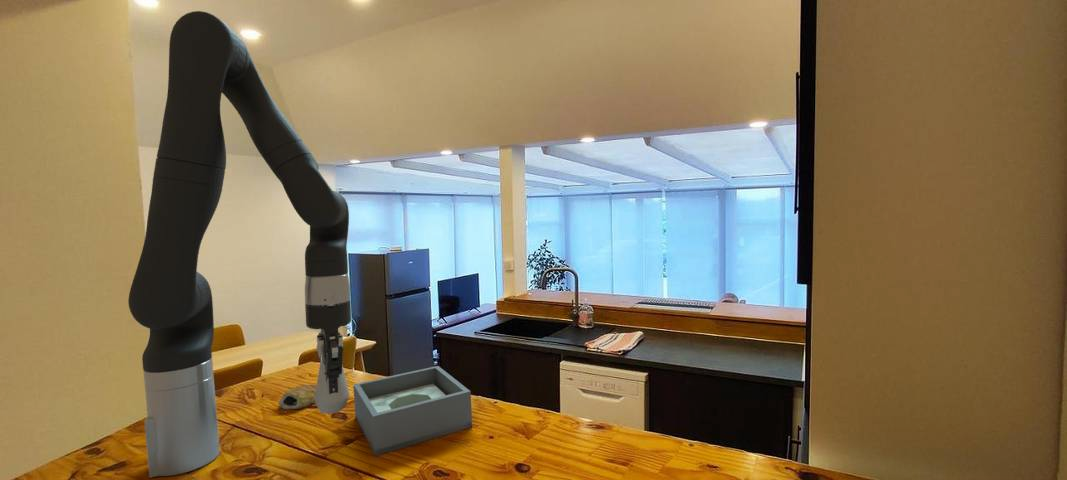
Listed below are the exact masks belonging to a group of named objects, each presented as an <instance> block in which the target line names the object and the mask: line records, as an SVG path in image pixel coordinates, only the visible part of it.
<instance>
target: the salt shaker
mask: <svg viewBox="0 0 1067 480" xmlns="http://www.w3.org/2000/svg"><path fill="white" fill-rule="evenodd" d="M342 348H343V349H344V344H343V345H342ZM316 352H317V353H318V355H319V354H321V348H320V347H319V343H317V345H316ZM324 354H325V346H324ZM325 358H326V357H325ZM318 368H319V369H318V375H317V381H316V393H315V402H314V403H315V404H316V406H317V408H318V410H319V412H320V413H321V414H328V415H330V414H335V413H339V412H340V411H342V410H344V409H345V408H346V405H347V403H348V400H349V398H350V391H349V390H350V389H349V387H348V382H347V377H346V375H345V369H344V366H343V364H342V374H340V375H339V377H338V393H332V394H330V395H329V379H328V378H327V381H326V377H325V375H324V372H325V366H324V364H323V363H322V362H321V361H320V360H319V367H318ZM332 368H337V365H335V366H331V367H330V369H332ZM332 381H334V380H332ZM333 385H334V384H333ZM333 391H335V390H334V388H333Z"/></svg>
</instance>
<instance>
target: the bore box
mask: <svg viewBox="0 0 1067 480" xmlns="http://www.w3.org/2000/svg"><path fill="white" fill-rule="evenodd" d="M352 385H353V400H354V401H353V402H354V416H355V420H356V422H357V424H358V426H359V427H360V429H361V431H362V433H363V435H364V437H365V438H366V441H367V443H368V445H369V447H370V449H371V451H372V453H373V454H374V457H378V456H382V455H384V454H387V453H388V454H389V453H390V452H395V451H397V450H401V449H404V448H408V447H411V446H415V445H417V444H420V443H421V444H422V443H424V442H428V441H430V440H434V439H437V438H440V437H444V436H446V435H450V434H453V433H457V432H461V431H464V430H466V429H470V428H473V417H472V416H473V414H472V395H471V393H472V392H471V390H470V389H469V388H467V387H466V386H464V385H463V384H462V383H461V382H460V381H458V380H457V379H456V378H454V377H453V376H452V375H451V374H449V373H448V372H447V371H446V370H444V369H443V368H441V366H439V365H436V366H430V367H426V368H422V369H417V370H412V371H408V372H403V373H399V374H395V375H389V376H385V377H380V378H376V379H371V380H367V381H362V382H357V383H353V384H352Z"/></svg>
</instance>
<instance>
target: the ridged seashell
mask: <svg viewBox="0 0 1067 480" xmlns="http://www.w3.org/2000/svg"><path fill="white" fill-rule="evenodd" d="M316 386H317V384H309V385H308V384H306V385H305V384H304V385H299V386H296V387H292V388H291V389H288V390H286V391H285V392H284V393H283V394H282V396H281V398H280V400H279V402H278V406H279V407H280V408H281V409H284V410H293V409H294V410H298V409H299V410H300V409H304V408H306V407H309V406H310V405H311V404H314V403H316V402H315V393H316Z"/></svg>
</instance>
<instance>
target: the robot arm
mask: <svg viewBox="0 0 1067 480" xmlns="http://www.w3.org/2000/svg"><path fill="white" fill-rule="evenodd" d="M169 37H170V39H169V48H168V49H169V53H168V78H167V79H168V81H167V95H166V102H165V107H164V113H163V120H162V123H161V125H162V127H161V132H160V139H159V145H158V149H157V152H156V158H155V163H154V170H153V177H152V183H151V184H152V185H151V194H150V199H149V206H148V214H147V220H146V229H145V236H144V237H145V238H144V242H143V245H142V251H141V253H140V257H139V260H138V264H137V268H136V270H135V272H134V273H135V274H134V276H133V280H132V283H131V286H130V289H129V294H128V308H129V311H130V313H131V315H132V317H133V319H134V320H135V321H136V322H137V323H138V324H139V325H141V326H143V327H144V328H147V329H149V336H148V337H149V339H148V341H147V345H146V347H145V349H144V351H143V353H142V357H141V358H142V360H141V361H142V370H143V380H144V381H143V382H144V391H145V392H144V393H145V402H146V404H145V405H146V413H147V416H146V418H145V419H144V430H145V442H146V443H145V444H146V452H147V453H146V454H147V464H148V473H149V474H148V475H149V478H155V477H169V476H176V475H181V474H185V473H189V472H191V471H194V470H197V469H199V468H202V467H204V466H206V465H208V464H209V463H212V461H214V460H215V459H216V458H218V457H219V454H220V437H219V425H218V413H217V401H216V390H215V389H216V388H215V378H214V368H213V367H214V365H213V355H212V349H213V342H214V339H215V338H214V336H215V329H214V328H215V327H214V326H215V324H214V306H213V305H214V304H213V295H212V294H213V293H212V289H211V285H210V284H209V282H208V279H206V277H205V276H204V275H203V274H201V273H200V272H198V261H199V254H200V249H201V248H200V247H201V244H202V241H203V238H204V236H205V234H206V231H207V229H208V227H209V225H210V223H211V221H212V219H213V217H214V215H215V212H216V211H217V207H218V205H219V202H220V200H221V196H222V192H223V187H224V186H223V185H224V179H225V174H226V166H227V150H226V142H225V136H224V129H223V125H222V124H223V123H222V118H221V99H222V94H223V96H225V98H226V99H227V100H228V101H229V103H230V104H231V105H232V107H233V108H234V109H235V110H236V112H237V113H238V115H239V117H240V118H241V120H242V122H243V124H244V125H245V128H246V130H247V132H248V135H249V137H250V138H251V141H252V142H253V144H254V146H255V148H256V149H257V152H258V153H259V154H260V156H261V157H262V159H264V162H265V163H266V164H267V165H268V167H269V168H270V170H271V171H272V173H273V174H274V175H275V176H276V178H277V179H278V180H279V182H280V183H281V185H282V187H283V190H284V192H285V193H286V196H287V197H288V199H289V202H290V204H291V205H292V207H293V209H294V210H295V212H296V213H297V215H298V216H299V217H300V219H301V220H302V221H303V222H304V223H305V224H306V225H308V226H309V243H308V244H307V246H306V247H305V252H304V265H305V266H304V268H305V281H304V282H305V283H304V306H305V325H306V327H307V328H309V329H310V330H320V332H318V334H317V335H316V343H317V344H318V343H319V347H320V348H321V354H318V358H319V362H320V361H321V362H322V363H323V364H324V366H325V372H324V375H325V377H326V381H327V378H328V379H329V395H330V394H332V393H338V377H339V375H340V374H342V365H343V352H344V347H343V348H342V345H343V346H344V341H343V340H344V339H343V335H341V331H339V328H341V327H345V326H347V325H349V324H350V323H351V322H352V308H351V306H352V304H351V303H352V302H351V301H352V300H351V287H350V286H351V285H350V284H351V283H350V280H349V263H348V252H347V251H348V250H347V246H348V245H347V243H348V236H349V225H350V223H349V222H350V212H349V205H348V202H347V200H346V198H345V197H344V196H343V195H342V194H341V193H340V192H337V191H335V190H333V189H332V188H331V186H330V185H329V184H328V182H327V181H326V180H325V178H324V177H323V175H322V174H321V172H320V171H319V164H318V162H317V160H316V159H315V157H314V156H313V154H312V153H311V151H310V149H309V148H308V147H307V146H306V144H305V143H304V141H303V139H302V138H301V137H300V136H299V134H298V133H297V131H296V130H295V129H294V127H293V126H292V125H291V123H290V122H289V120H288V119H287V118H286V116H285V115H284V114H283V112H282V110H280V108H279V106H278V105H277V103H276V102H275V100H274V99H273V98H272V96H271V95H270V93H269V91H268V89H267V88H266V86H265V83H264V82H263V80H262V77H261V76H260V73H259V71H258V69H257V67H256V66H255V63H254V60H253V59H252V57H251V54H250V53H249V52H250V51H249V50H248V48H247V45H246V44H245V42H244V41H243V39H241V37H239V35H238V34H237V33H236V32H235V31H234V30H233V29H232V28H231V27H230V26H228V24H226V23H225V22H224V21H223V20H222V19H221V18H219V17H217V16H215V15H214V14H212V13H209V12H206V11H202V10H201V11H200V10H197V11H190V12H187V13H185V14H184V15H182V16H180V17H179V18H178V19H177V20H176V22H175V24H174V25H173V27H172V30H171V33H170V36H169ZM324 346H325V354H324ZM325 357H326V358H325ZM335 365H337V368H332V369H330V367H331V366H335ZM332 380H334V381H332ZM333 384H334V385H333ZM333 388H334V390H335V391H333Z"/></svg>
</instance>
